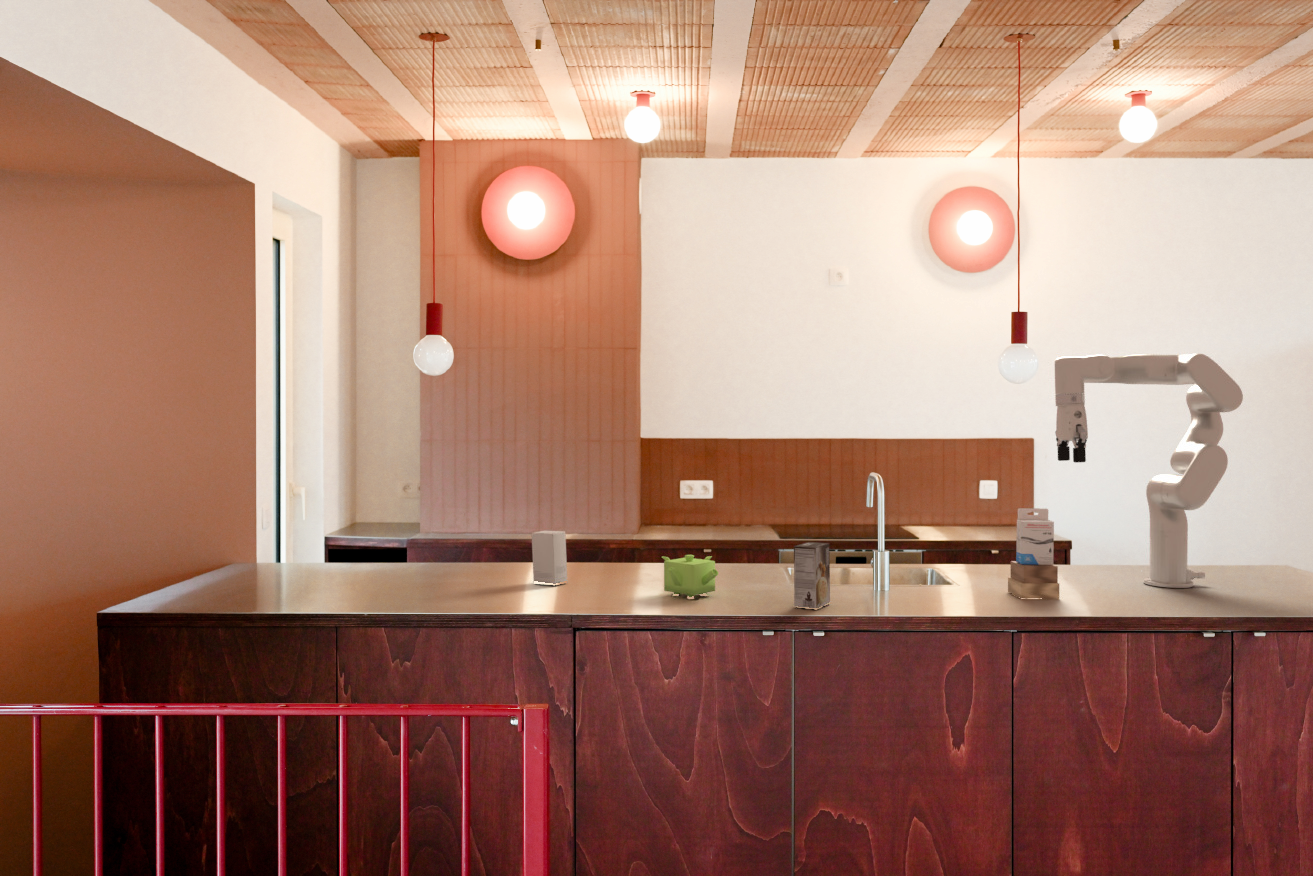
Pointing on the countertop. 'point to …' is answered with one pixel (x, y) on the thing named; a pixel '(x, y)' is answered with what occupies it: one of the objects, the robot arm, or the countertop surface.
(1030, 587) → the tower base
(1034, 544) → the ink box
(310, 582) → the countertop surface
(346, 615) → the countertop surface
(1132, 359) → the robot arm
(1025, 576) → the tower top
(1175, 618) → the countertop surface
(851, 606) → the countertop surface
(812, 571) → the coffee box
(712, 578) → the kettle
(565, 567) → the skincare box
